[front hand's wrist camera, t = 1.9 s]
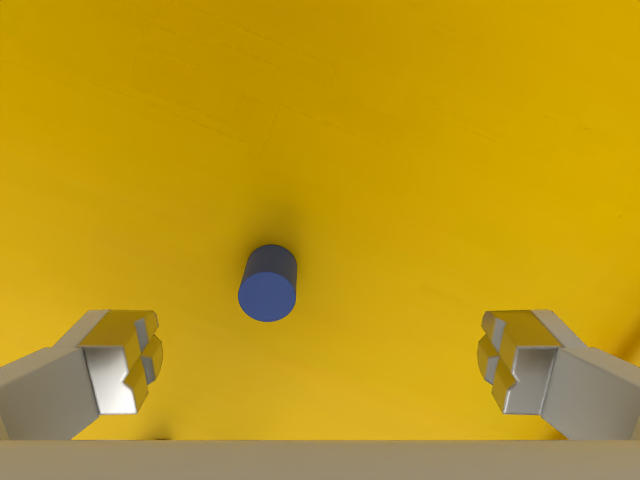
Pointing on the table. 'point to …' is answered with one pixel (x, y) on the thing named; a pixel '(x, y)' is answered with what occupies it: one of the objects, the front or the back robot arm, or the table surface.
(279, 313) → the canister
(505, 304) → the table surface
